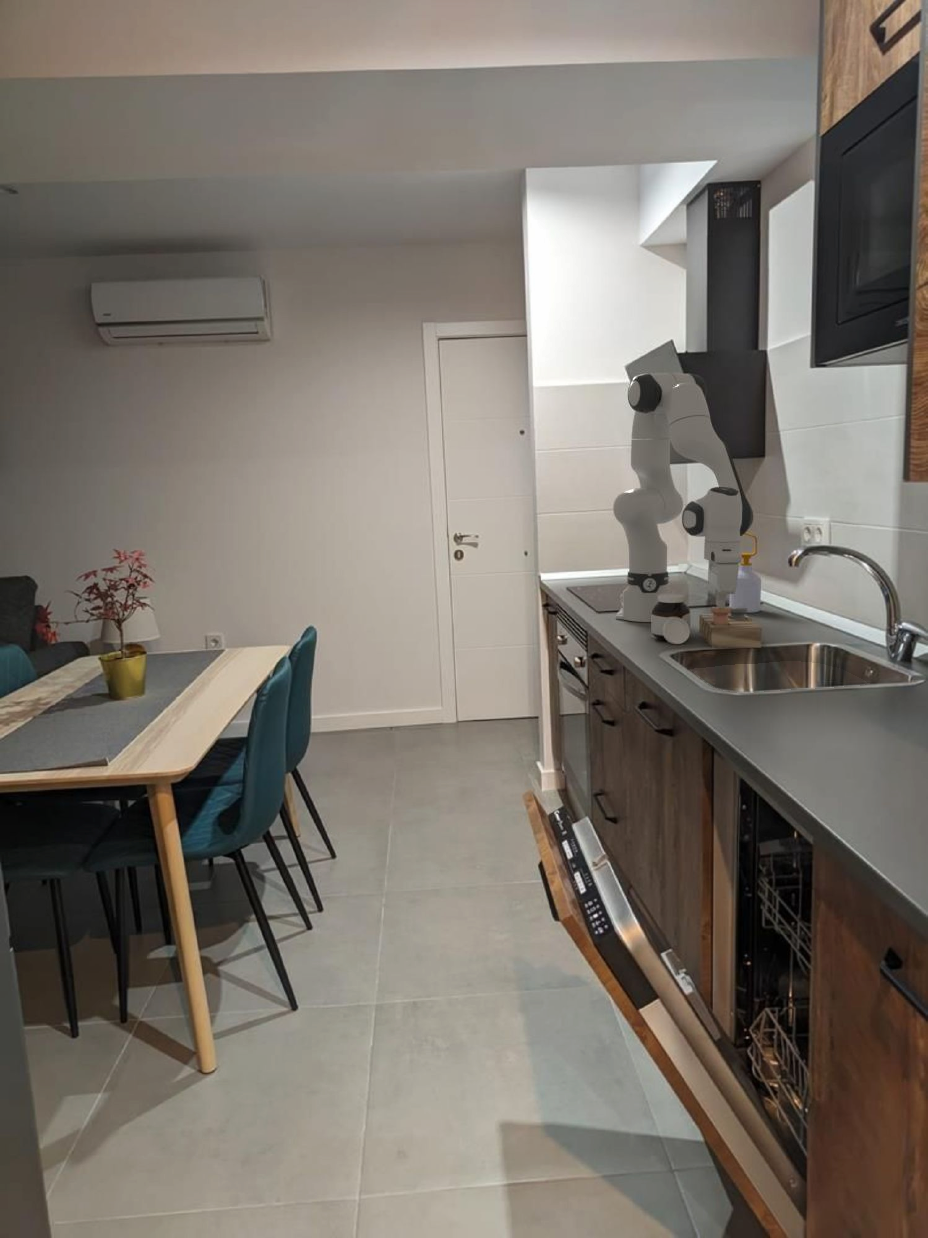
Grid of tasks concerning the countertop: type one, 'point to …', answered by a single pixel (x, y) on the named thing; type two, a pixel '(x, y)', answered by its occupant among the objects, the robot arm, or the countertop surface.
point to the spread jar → (671, 619)
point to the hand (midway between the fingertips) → (720, 606)
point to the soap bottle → (747, 585)
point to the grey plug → (738, 612)
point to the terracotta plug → (720, 615)
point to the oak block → (730, 632)
